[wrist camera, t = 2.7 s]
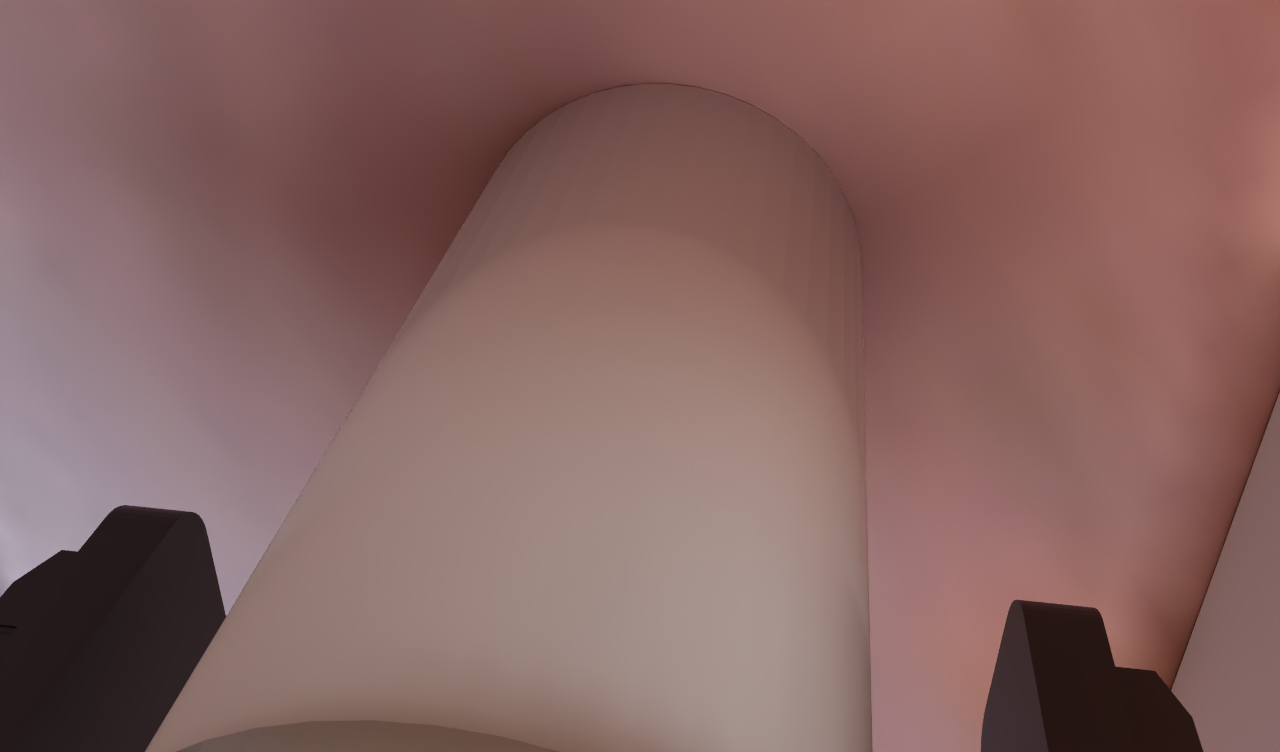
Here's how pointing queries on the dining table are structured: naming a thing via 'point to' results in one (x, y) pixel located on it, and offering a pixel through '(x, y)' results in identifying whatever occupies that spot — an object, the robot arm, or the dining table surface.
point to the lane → (1241, 623)
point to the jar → (587, 472)
